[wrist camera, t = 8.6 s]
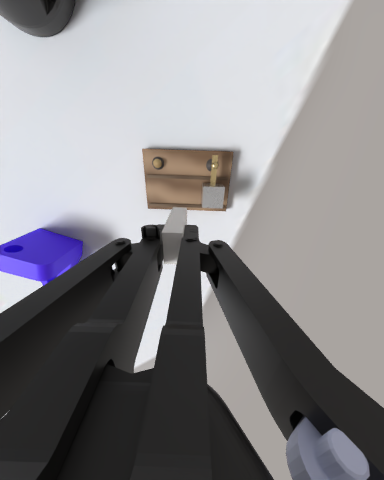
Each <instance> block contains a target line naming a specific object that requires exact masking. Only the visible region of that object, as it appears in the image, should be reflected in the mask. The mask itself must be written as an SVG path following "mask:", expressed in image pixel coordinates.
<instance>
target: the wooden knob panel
mask: <svg viewBox="0 0 384 480" xmlns="http://www.w3.org/2000/svg"><path fill="white" fill-rule="evenodd" d="M142 152H143V162H144V172H145V182H146V193H147V203H148V209H173V207H181V208H187V210H206V211H226V206H227V198H228V191H229V183H230V175H231V167H232V159H233V152H228V151H196V150H165V149H142ZM212 155H218V162H217V163H218V168H217V173H216V184H222V185H223V186H224V187H225V192H224V201H223V209H221V208H202V204H201V198H202V183H210V178H211V164H212Z"/></svg>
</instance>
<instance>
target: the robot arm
mask: <svg viewBox="0 0 384 480" xmlns="http://www.w3.org/2000/svg"><path fill="white" fill-rule="evenodd" d="M74 4H75V0H0V15H1V16H2V17H4V18H5V19H6V20H8V21H9V22H10V23H12V24H13V25H14V26H16V27H17V28H19V29H20V30H22V31H24V32H26V33H28V34H30V35H34V36H38V37H47V36H52V35H54V34H56V33H58V32H59V31H61V30H62V29H63V28H64V26H65V25H66V24H67V22H68V21H69V19H70V17H71V14H72V12H73V8H74ZM141 231H142V240H141V241H140V243H134V244H131V240H129V239H127V238H119V239H117V240H114V241H112V242H111V243H109V244H107V245H106V246H104V247H103V248H101V249H100V250H98V251H97V252H95V253H93V254H92V255H90V256H89V257H87V258H86V259H84V260H83V261H81V262H80V263H78V264H76V265H75V266H73V267H72V268H70V269H69V270H67V271H66V272H64V273H62V274H61V275H59V276H58V277H56V278H55V279H53V280H52V281H50V282H48V283H47V284H45V285H44V286H42V287H41V288H39V289H38V290H36V291H35V292H33V293H31V294H30V295H28V296H27V297H25V298H24V299H22V300H21V301H19V302H17V303H16V304H14V305H13V306H11V307H10V308H8V309H7V310H5V311H3V312H2V313H0V480H274V479H273V477H272V476H271V474H270V473H269V471H268V470H267V468H266V466H265V465H264V463H263V462H262V460H261V459H260V457H259V456H258V454H257V452H256V451H255V449H254V448H253V446H252V444H251V443H250V441H249V440H248V438H247V437H246V435H245V433H244V432H243V430H242V429H241V427H240V426H239V424H238V422H237V421H236V419H235V418H234V416H233V415H232V413H231V411H230V410H229V408H228V407H227V405H226V404H225V402H224V401H223V400H222V398H221V397H220V396H219V395H218V394H217V392H216V391H215V390H213V388H212V387H210V386H209V385H208V384H207V373H206V353H205V335H204V334H205V333H204V327H203V319H202V295H201V271H202V272H206V274H207V278H208V280H209V282H210V284H211V286H212V288H213V291H214V293H215V295H216V297H217V299H218V301H219V304H220V306H221V308H222V310H223V312H224V314H225V317H226V319H227V321H228V323H229V325H230V328H231V330H232V332H233V334H234V336H235V338H236V341H237V343H238V345H239V347H240V349H241V351H242V354H243V356H244V358H245V360H246V362H247V365H248V367H249V369H250V371H251V373H252V375H253V378H254V380H255V382H256V384H257V386H258V389H259V391H260V393H261V395H262V397H263V399H264V401H265V403H266V405H267V407H268V409H269V411H270V413H271V415H272V417H273V418H274V420H275V422H276V424H277V425H278V427H279V428H280V430H281V432H282V433H283V435H284V437H285V438H286V440H287V441H288V442H287V447H286V456H287V463H288V467H289V470H290V473H291V476H292V479H293V480H384V408H383V407H382V406H380V405H379V404H378V403H377V402H376V401H374V400H373V399H372V398H370V397H369V396H368V395H367V394H365V392H363V391H362V390H361V389H360V388H359V387H357V386H356V385H355V384H354V383H352V382H351V381H350V380H349V379H348V378H346V377H345V376H344V375H343V374H342V373H340V372H339V371H338V370H336V368H335V367H334V366H333V365H332V364H331V363H330V362H329V361H328V359H326V357H325V356H324V355H323V354H322V352H321V351H320V350H319V349H318V348H317V347H316V346H315V344H314V343H313V342H312V341H311V340H310V339H309V337H308V336H307V335H306V334H305V333H304V332H303V331H302V329H301V328H300V327H299V326H298V325H297V324H296V323H295V322H294V320H293V319H292V318H291V317H290V316H289V314H288V313H287V312H286V311H285V310H284V309H283V308H282V306H281V305H280V304H279V303H278V302H277V301H276V300H275V298H274V297H273V296H272V295H271V294H270V293H269V291H268V290H267V289H266V288H265V287H264V286H263V285H262V283H261V282H260V281H259V280H258V279H257V278H256V277H255V275H254V274H253V273H252V272H251V271H250V270H249V268H248V267H247V266H246V265H245V264H244V263H243V262H242V260H241V259H240V258H239V257H238V256H237V255H236V253H235V252H234V251H233V250H232V249H231V248H230V247H229V245H228V244H227V243H225V242H223V241H220V240H215V241H211V242H210V243H209V245H206V244H203V243H201V242H200V241H199V236H198V227H197V226H196V225H187V208H181V207H173V209H172V211H171V213H170V215H169V217H168V219H167V222H166V224H165V225H146V226H143V227H142V228H141ZM163 260H164V264H177V265H176V271H175V276H174V282H173V287H172V293H171V298H170V303H169V309H168V314H167V320H166V324H165V326H163V328H162V331H161V335H160V340H159V345H158V350H157V355H156V360H155V366H154V368H152V369H149V370H145V371H141V372H137V373H134V363H135V359H136V356H137V352H138V349H139V346H140V342H141V339H142V336H143V332H144V329H145V326H146V322H147V319H148V315H149V312H150V309H151V305H152V302H153V299H154V295H155V292H156V288H157V285H158V282H159V278H160V275H161V272H162V268H163V265H162V261H163ZM114 263H115V266H116V268H115V269H114V270H113V269H112V265H113V264H114ZM8 411H9V412H8ZM7 412H8V413H7ZM6 413H7V414H6ZM5 414H6V415H5ZM4 415H5V416H4ZM3 416H4V417H3ZM2 417H3V418H2ZM1 418H2V419H1Z"/></svg>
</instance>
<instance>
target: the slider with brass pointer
mask: <svg viewBox="0 0 384 480" xmlns="http://www.w3.org/2000/svg"><path fill="white" fill-rule="evenodd" d="M217 162H218V155H212V164H211V178H210V183H202V198H201V204H202V208H221V209H223V201H224V192H225V187H224V186H223V185H222V184H216V173H217V168H218V163H217Z"/></svg>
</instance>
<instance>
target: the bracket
mask: <svg viewBox="0 0 384 480" xmlns="http://www.w3.org/2000/svg"><path fill="white" fill-rule="evenodd" d="M82 247H83V241H80V240H77V239H73V238H70V237H67V236H63V235H60V234H57V233H53V232H50V231H47V230H44V229H40V228H39V229H37V230H35V231H33V232H30V233H28V234H26V235H23V236H21V237H19V238H16V239H14V240H12V241H9V242H7V243H5V244H2V245H0V271H2V272H6V273H9V274H13V275H17V276H21V277H25V278H29V279H32V280H36V281H41V282H42V284H43V286H44V285H45V284H47V283H48V282H50V281H52V280H53V279H55V278H56V277H58V276H59V275H61V274H62V273H64V272H66V271H67V270H69V269H70V268H72V267H73V266H75V265H76V264H78V262H79V260H80V258H81V256H82Z"/></svg>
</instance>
